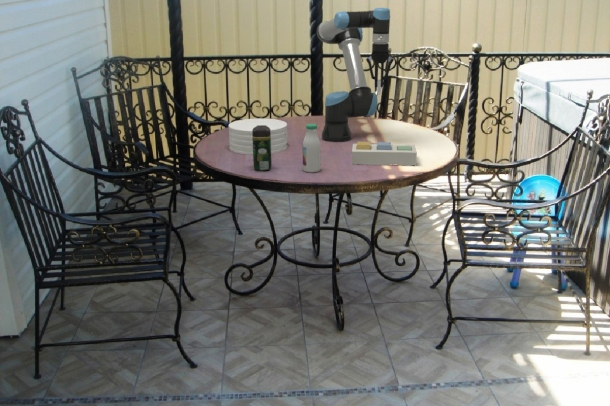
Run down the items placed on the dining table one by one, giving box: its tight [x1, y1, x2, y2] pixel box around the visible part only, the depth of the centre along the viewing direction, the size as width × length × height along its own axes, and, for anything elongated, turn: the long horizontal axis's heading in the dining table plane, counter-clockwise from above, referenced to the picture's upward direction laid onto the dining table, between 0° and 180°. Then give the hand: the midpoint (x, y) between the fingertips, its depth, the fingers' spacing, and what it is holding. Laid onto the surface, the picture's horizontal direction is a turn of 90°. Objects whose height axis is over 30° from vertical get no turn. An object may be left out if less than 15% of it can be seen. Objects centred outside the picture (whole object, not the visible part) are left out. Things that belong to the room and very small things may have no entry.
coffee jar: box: [252, 125, 273, 172], centre depth 284 cm, size 10×8×19 cm
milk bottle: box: [302, 123, 322, 173], centre depth 281 cm, size 8×8×20 cm
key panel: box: [351, 143, 418, 166], centre depth 296 cm, size 28×14×6 cm, turn 85°
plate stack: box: [228, 117, 288, 156], centre depth 320 cm, size 28×28×12 cm
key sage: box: [397, 146, 412, 150], centre depth 295 cm, size 6×6×4 cm
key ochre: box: [356, 141, 372, 150], centre depth 296 cm, size 6×6×4 cm
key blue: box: [376, 141, 392, 150], centre depth 295 cm, size 6×6×4 cm
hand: (378, 93), depth 313 cm, fingers closed
